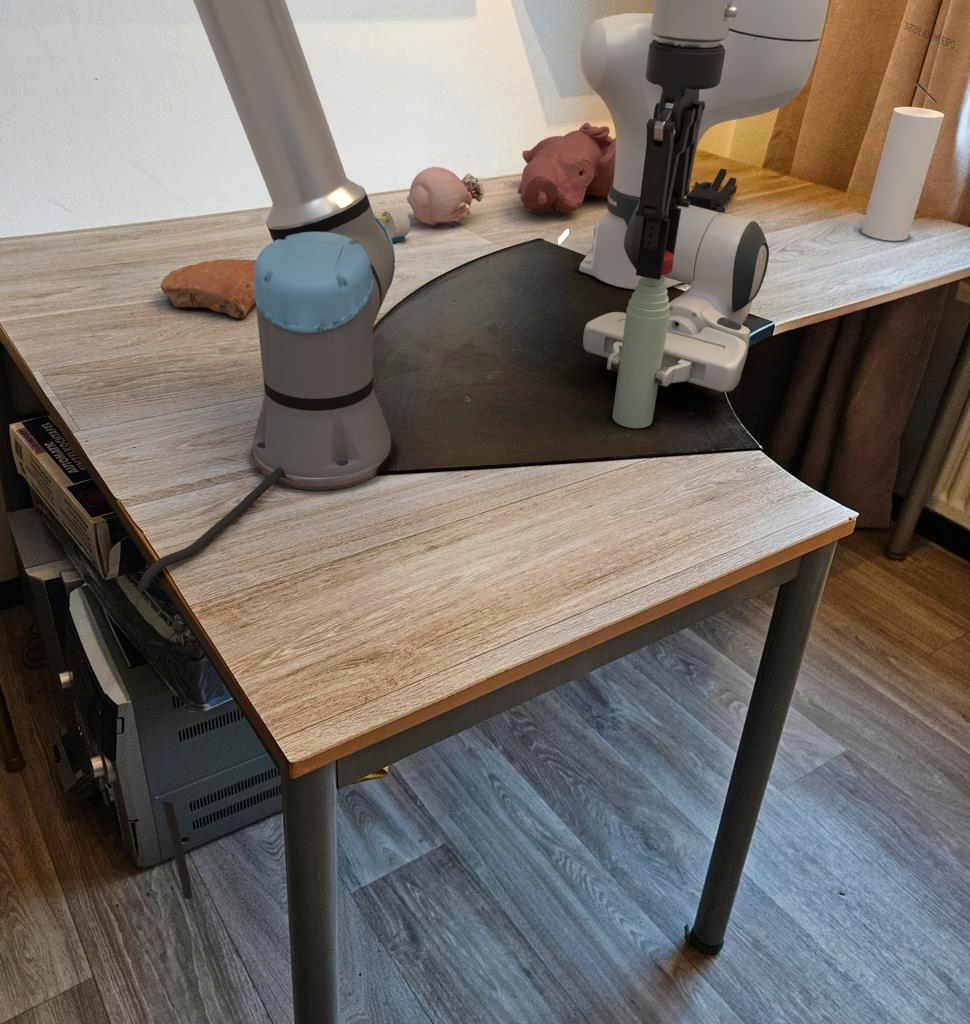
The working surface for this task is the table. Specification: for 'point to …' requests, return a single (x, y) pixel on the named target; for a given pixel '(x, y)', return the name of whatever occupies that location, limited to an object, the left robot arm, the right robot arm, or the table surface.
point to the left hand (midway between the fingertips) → (654, 270)
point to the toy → (442, 195)
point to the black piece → (713, 193)
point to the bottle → (641, 353)
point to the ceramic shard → (213, 286)
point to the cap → (667, 263)
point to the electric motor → (396, 223)
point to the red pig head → (568, 170)
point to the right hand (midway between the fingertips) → (636, 372)
